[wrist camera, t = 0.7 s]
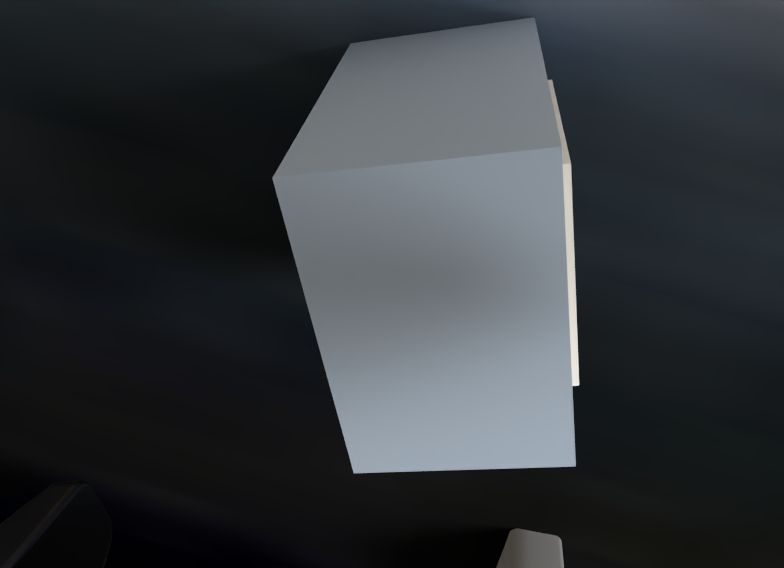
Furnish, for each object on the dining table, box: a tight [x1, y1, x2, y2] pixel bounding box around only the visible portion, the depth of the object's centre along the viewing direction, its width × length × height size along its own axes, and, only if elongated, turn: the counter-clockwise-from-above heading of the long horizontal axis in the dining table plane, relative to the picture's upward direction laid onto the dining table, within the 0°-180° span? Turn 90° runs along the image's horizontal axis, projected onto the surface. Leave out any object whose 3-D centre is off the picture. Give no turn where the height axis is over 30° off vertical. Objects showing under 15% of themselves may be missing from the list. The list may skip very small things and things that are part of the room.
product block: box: [272, 17, 579, 473], centre depth 14 cm, size 4×6×7 cm
